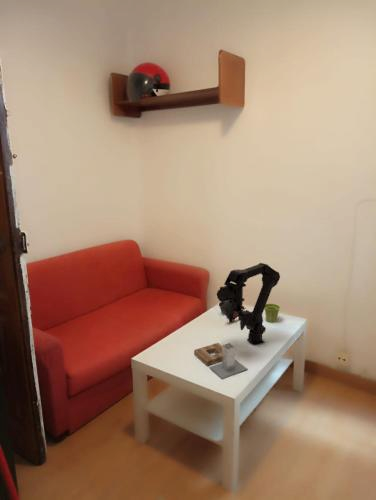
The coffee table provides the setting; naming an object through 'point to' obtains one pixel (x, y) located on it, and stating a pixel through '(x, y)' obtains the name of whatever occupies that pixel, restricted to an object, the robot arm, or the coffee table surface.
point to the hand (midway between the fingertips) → (236, 326)
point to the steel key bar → (228, 357)
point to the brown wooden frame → (205, 354)
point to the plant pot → (271, 312)
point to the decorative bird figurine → (235, 315)
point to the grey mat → (224, 374)
